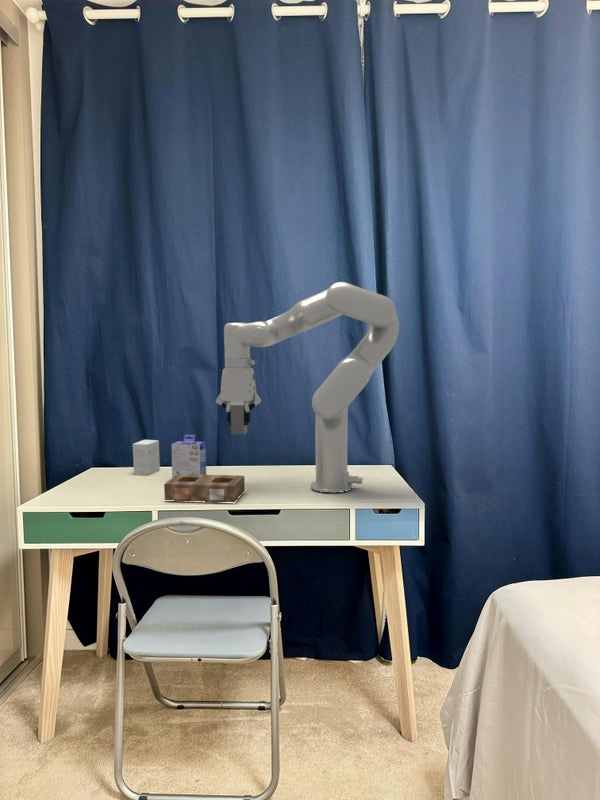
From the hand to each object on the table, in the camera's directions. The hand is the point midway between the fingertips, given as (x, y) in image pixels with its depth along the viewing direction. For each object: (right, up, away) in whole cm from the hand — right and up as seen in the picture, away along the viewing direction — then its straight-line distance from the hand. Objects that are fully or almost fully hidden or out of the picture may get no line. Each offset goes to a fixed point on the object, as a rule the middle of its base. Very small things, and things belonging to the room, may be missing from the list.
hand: (239, 424), depth 182 cm
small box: (-33, -17, +22) cm, 44 cm away
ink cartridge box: (-17, -19, +11) cm, 27 cm away
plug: (0, -3, 0) cm, 3 cm away
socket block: (-9, -21, -10) cm, 24 cm away
